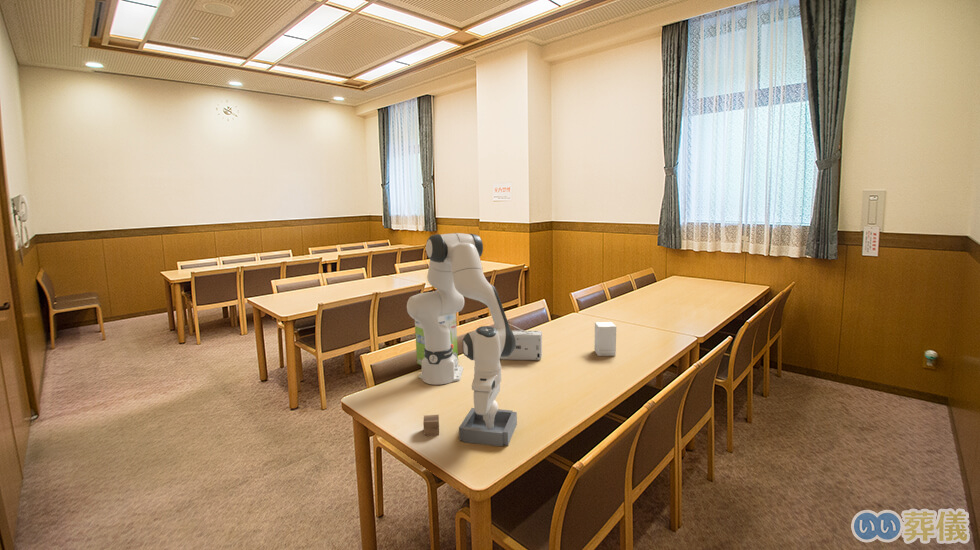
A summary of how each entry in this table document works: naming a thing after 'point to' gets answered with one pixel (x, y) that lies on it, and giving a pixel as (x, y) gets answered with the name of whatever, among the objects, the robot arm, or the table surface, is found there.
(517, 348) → the stereo radio cassette player
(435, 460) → the table surface
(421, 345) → the toothbrush box
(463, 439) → the gray square tray
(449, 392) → the table surface
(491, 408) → the lightbulb
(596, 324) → the supplement box
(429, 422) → the walnut block
